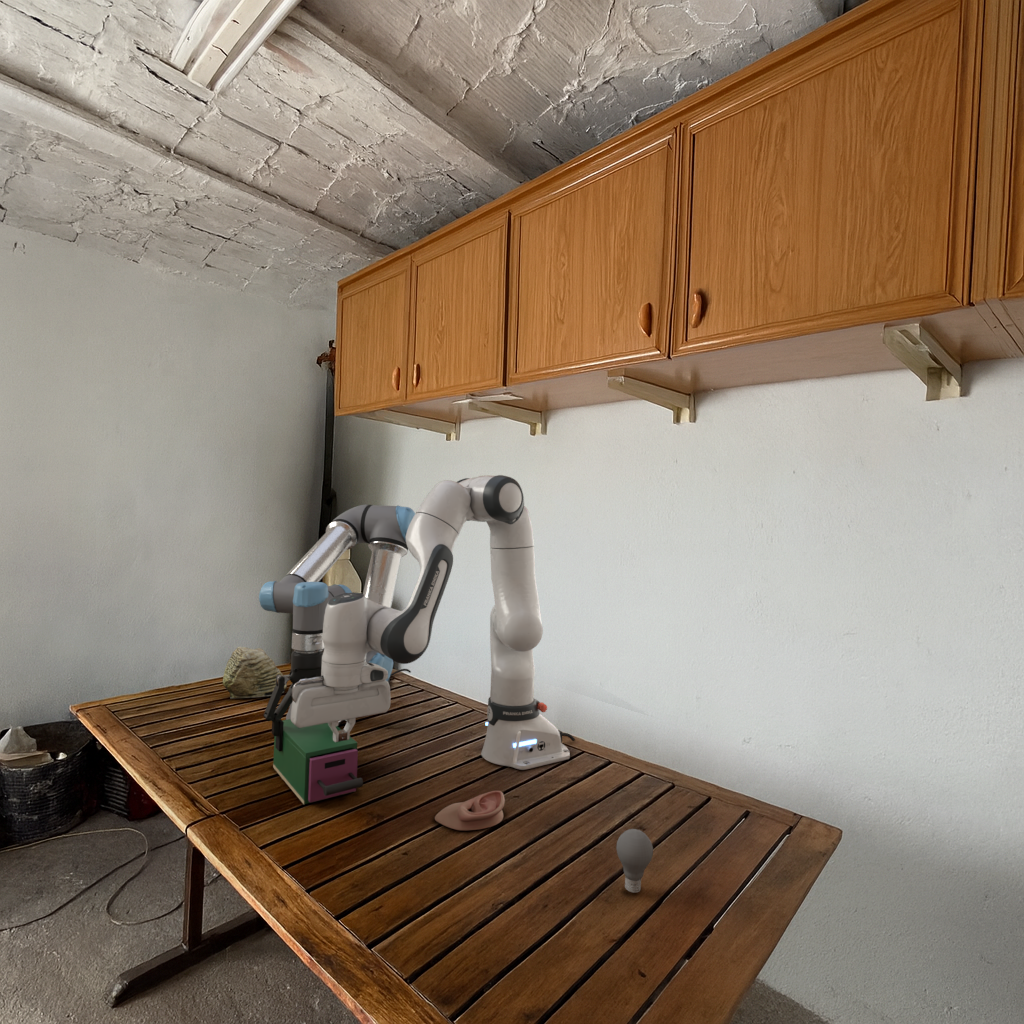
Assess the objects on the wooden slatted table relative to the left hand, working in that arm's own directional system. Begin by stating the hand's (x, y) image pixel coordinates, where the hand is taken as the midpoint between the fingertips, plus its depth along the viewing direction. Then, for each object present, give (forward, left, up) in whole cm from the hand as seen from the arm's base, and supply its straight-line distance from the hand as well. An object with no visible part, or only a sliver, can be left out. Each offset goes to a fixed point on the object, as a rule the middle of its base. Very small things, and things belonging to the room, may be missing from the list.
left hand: (305, 744), depth 146 cm
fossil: (-20, -58, -6) cm, 61 cm away
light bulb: (-11, +79, -6) cm, 80 cm away
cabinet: (+1, +5, -6) cm, 8 cm away
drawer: (+3, +11, -5) cm, 12 cm away
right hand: (+5, +20, +8) cm, 22 cm away
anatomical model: (-10, +43, -6) cm, 44 cm away
